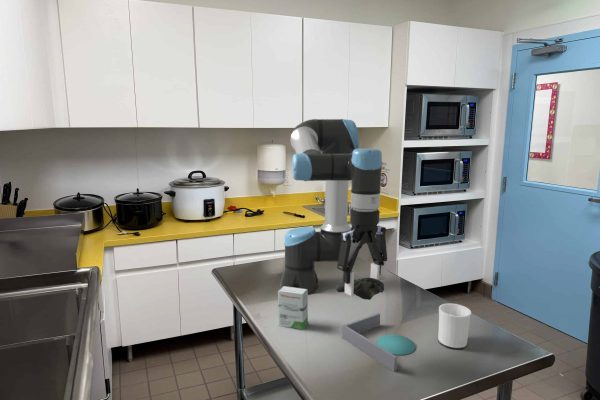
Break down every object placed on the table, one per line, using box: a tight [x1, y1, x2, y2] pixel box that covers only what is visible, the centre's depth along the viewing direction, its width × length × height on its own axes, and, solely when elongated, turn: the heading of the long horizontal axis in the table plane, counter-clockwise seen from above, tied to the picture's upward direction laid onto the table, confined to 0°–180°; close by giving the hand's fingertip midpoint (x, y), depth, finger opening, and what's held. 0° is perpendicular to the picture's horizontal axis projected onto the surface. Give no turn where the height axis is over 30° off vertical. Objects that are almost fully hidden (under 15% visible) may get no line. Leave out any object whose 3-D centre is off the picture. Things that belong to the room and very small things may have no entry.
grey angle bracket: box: [341, 312, 398, 372], centre depth 121 cm, size 21×15×4 cm
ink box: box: [277, 286, 309, 330], centre depth 132 cm, size 9×5×12 cm, turn 71°
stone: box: [335, 277, 385, 301], centre depth 113 cm, size 7×13×5 cm, turn 67°
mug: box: [437, 302, 472, 350], centre depth 123 cm, size 11×9×10 cm
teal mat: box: [376, 333, 416, 356], centre depth 122 cm, size 11×11×1 cm
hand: (361, 290), depth 113 cm, fingers closed on stone, 8 cm apart
